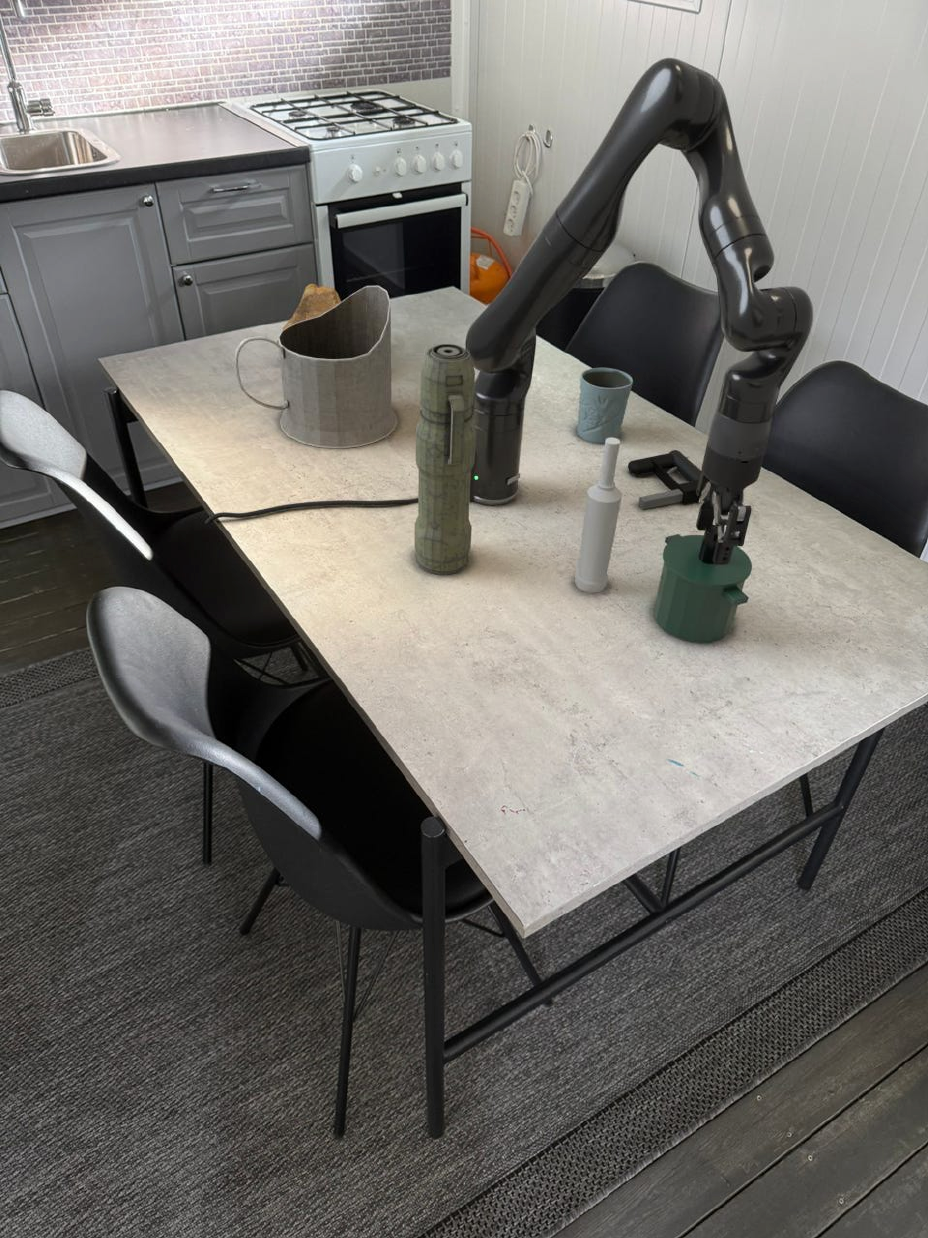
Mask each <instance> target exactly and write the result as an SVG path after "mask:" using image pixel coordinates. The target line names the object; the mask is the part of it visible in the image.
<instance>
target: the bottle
mask: <svg viewBox="0 0 928 1238" xmlns="http://www.w3.org/2000/svg"><path fill="white" fill-rule="evenodd" d="M620 445H621V440H620V439H619V438H618V439H617V438H607V439H606V441H605V444H604V447H603V457H602V465H601V471H600V477H599V480H597V482H596V483H595V484H593V485H591V486H590V487H589V488H587V490H586V497H585V504H584V505H585V506H584V514H583V521H582V529H581V531H582V532H581V539H580V548H579V554H578V555H579V556H578V564H577V569H576V570H575V574H574V583H575V585H576V587H577V588H578V589H579V590H580V591H582V592H584V593H589V594H597V593H601V592H602V591H604V589H606V587H607V584H608V581H609V575H608V569H609V565H610V560H611V556H612V549H613V544H614V539H615V534H616V529H617V524H618V518H619V513H620V507H621V503H622V498H623V493H622V491H621V490H620V489H619V488H618V487H617V486H616V483H615V481H614V480H615V475H616V467H617V461H618V455H619V451H620Z"/></svg>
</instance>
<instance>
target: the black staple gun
mask: <svg viewBox="0 0 928 1238" xmlns="http://www.w3.org/2000/svg"><path fill="white" fill-rule="evenodd" d="M689 458H690V456H686V455H684V454H683V452H681V451H680V450H677V449H673V450H670V451H669V452H668V453H663V454H658V455H653V456H648V457H644V458H638V459H634V460H633V459H632V460H630V461H629V462H628V464H627V470H628V472H629V473H630V474H632V475H634V476H641V475H647V474H650V473H652V474H653V475H654V476H655V477H656V478H657V479H658V480H659V481H660V482H661V483H662V484H663V485H664V486H666V487H667V489H668V490H667V491H666V490H665V491H662V492H658V493H653V494H648V495H644V496H639V500H638V506H639V508H640V509H642V511H644V510H648V509H653V508H658V507H662V506H667V505H672V504H676V503H680V504H681V505H683V506H686V505H690V504H695V503H699V498H700V497H701V496H697V494H696V490H697V486H698V482H699V478H700V474H701V470H702V469H700V468H699V467H698V466H697V465H696V464H694V463H693V462H692V461H691V460H690V459H689ZM665 470H668V471H667V472H666V471H665ZM675 471H676V472H677V473H678V474H679V475H680V476H681V477H683V479H685V480H686V482H682V483H678V481H676V480H675V479H674V478H673V477H672V476H671V475H672V474H673V473H674V472H675ZM706 484H707V483H705V484H704V487H706Z"/></svg>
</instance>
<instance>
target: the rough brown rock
mask: <svg viewBox="0 0 928 1238" xmlns="http://www.w3.org/2000/svg"><path fill="white" fill-rule="evenodd" d="M341 302H342V300H341V298H340V296H339V293H338V292H337V290H336V289H335V288H333V287H331V286H328V285H326V286H325V285H322V286H319V285H318V284H314V283H309V284H308V285H307V286H305V288H304V290H303V294H302V297H301V299H300V302H299V304H298V306H297V308H296V310H295V311H294V313H293V315H292V317H291V318H290V319H289V320H288V321H287V323H286V324H285V325H284V326H283V328H282V331H283V330H284V329H286V328H287V327H289V326H290V325H292V324H295V323H298V322H301V321H304V320H307V319H311V318H314V317H318V316H320V315H322V314H324V313H325V312H327V311H329V310H330V309H332V308H334V307H335V306H337V305H338V304H339V303H341ZM276 343H278V344H279V340H278V339H277V341H276Z"/></svg>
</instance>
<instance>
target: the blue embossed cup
mask: <svg viewBox="0 0 928 1238" xmlns="http://www.w3.org/2000/svg"><path fill="white" fill-rule="evenodd" d="M633 384H634V380H633V377H632V376H631V375H630V374H629V373H627V372H625V371H622V370H619V369H616V368H610V367H593V368H589V369H586V370H584V371H582V372H581V373H580V379H579V391H580V392H579V397H578V399H579V401H578V404H579V405H578V415H577V416H578V417H577V419H578V420H577V428H576V429H577V431H576V432H577V435H578V437H579V438H580V439H582V440H584V441H586V442H588V443H592V444H599V445H605V441H606V439H607V438H617V439H619V437H620V435H621V431H622V426H623V423H624V419H625V414H626V409H627V406H628V401H629V398H630V395H631V390H632V387H633Z"/></svg>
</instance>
